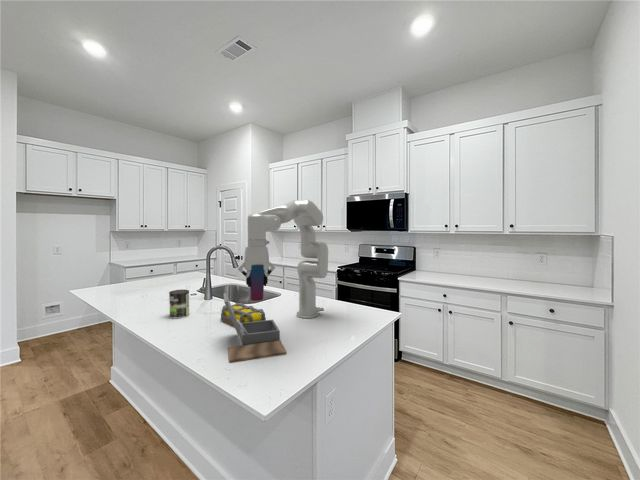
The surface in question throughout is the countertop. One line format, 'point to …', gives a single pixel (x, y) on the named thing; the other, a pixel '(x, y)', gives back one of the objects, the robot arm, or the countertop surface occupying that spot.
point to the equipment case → (260, 337)
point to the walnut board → (255, 351)
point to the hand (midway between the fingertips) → (256, 285)
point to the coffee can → (179, 303)
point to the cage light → (242, 314)
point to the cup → (257, 282)
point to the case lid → (232, 314)
